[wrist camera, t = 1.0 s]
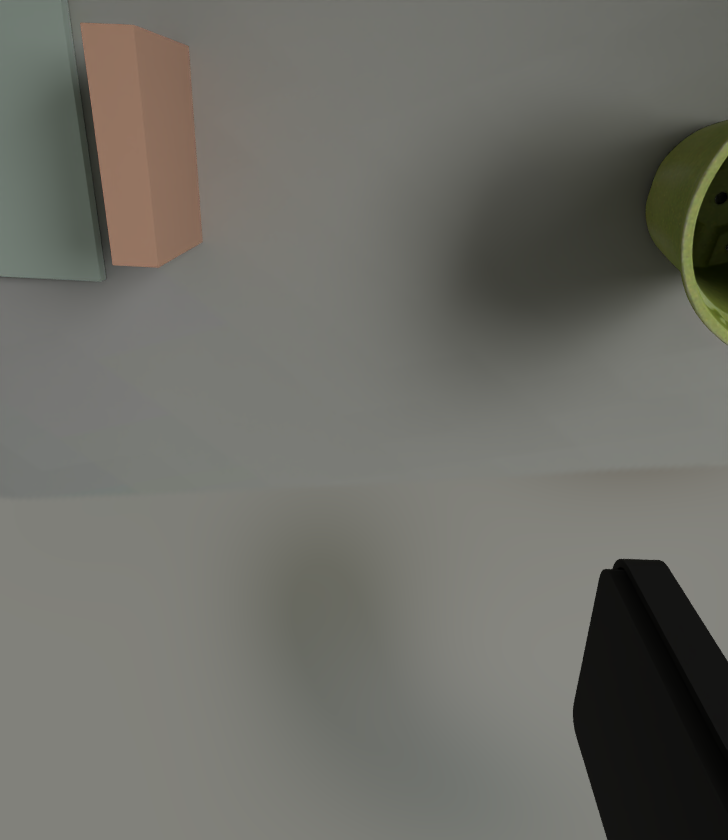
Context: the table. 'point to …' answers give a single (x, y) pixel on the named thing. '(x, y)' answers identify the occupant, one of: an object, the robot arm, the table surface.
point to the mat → (44, 149)
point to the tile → (144, 142)
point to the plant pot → (695, 221)
